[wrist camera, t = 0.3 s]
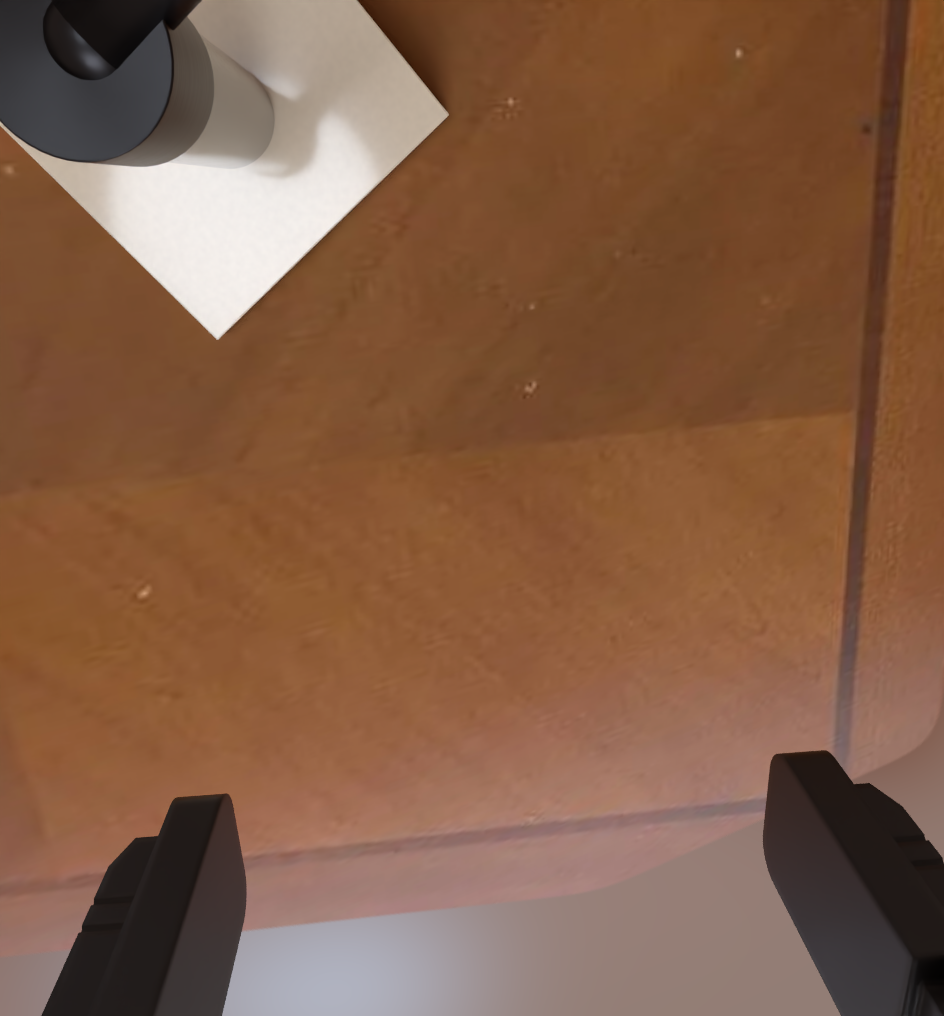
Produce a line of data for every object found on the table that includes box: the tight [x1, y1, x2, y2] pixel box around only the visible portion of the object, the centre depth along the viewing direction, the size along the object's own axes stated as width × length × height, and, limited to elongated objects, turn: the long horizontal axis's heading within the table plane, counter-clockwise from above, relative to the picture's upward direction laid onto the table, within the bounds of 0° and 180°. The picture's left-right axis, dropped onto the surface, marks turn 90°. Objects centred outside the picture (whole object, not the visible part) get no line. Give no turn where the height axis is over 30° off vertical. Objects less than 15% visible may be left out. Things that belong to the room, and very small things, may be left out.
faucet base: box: [0, 0, 449, 340], centre depth 29 cm, size 14×12×15 cm
